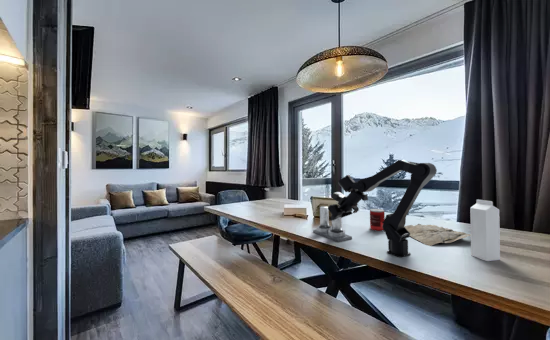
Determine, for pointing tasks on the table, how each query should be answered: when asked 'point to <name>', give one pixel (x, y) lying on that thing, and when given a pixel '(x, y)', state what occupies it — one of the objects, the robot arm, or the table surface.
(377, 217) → the canned food
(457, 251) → the table surface
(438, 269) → the table surface
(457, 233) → the stone slab
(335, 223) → the billet
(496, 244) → the milk
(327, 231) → the grey cylinder holder
